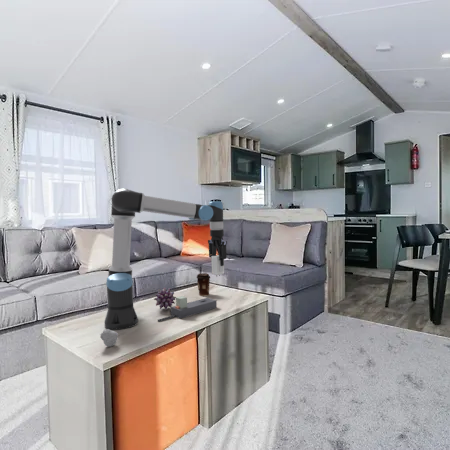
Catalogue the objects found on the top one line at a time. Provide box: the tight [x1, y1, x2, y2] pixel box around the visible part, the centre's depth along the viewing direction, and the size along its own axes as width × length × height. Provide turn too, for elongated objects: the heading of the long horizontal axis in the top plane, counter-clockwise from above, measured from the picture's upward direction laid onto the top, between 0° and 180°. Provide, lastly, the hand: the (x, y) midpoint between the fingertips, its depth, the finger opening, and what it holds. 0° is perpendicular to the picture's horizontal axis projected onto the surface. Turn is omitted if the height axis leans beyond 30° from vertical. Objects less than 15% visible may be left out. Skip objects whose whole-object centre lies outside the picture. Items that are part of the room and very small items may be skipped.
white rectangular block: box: [210, 254, 225, 278], centre depth 188 cm, size 5×5×11 cm
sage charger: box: [175, 295, 188, 309], centre depth 172 cm, size 4×4×5 cm
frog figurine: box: [99, 328, 119, 348], centre depth 136 cm, size 6×7×7 cm
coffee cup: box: [196, 272, 211, 297], centre depth 210 cm, size 9×8×13 cm
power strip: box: [157, 297, 218, 323], centre depth 175 cm, size 34×8×5 cm, turn 132°
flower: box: [153, 287, 176, 311], centre depth 182 cm, size 12×12×12 cm
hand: (217, 270), depth 189 cm, fingers closed on white rectangular block, 5 cm apart
